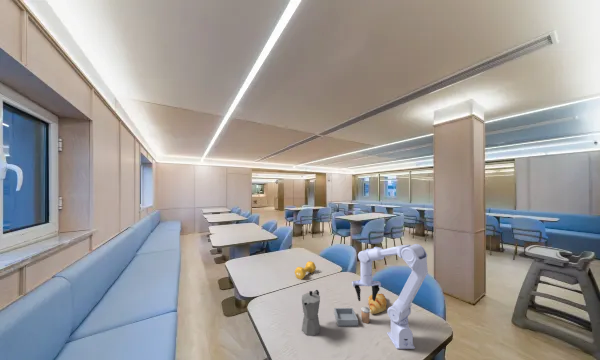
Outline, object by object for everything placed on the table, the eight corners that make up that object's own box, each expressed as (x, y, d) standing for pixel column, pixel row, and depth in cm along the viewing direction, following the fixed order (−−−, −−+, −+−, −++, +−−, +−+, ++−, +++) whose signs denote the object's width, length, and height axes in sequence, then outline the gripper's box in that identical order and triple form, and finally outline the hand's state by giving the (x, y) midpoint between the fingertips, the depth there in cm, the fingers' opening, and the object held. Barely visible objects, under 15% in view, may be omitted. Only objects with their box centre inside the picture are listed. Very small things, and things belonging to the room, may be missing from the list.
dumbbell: (303, 281, 149) (303, 269, 149) (293, 277, 154) (293, 266, 154) (316, 272, 164) (316, 262, 164) (307, 269, 169) (307, 259, 170)
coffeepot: (314, 342, 90) (314, 300, 91) (295, 334, 95) (295, 295, 95) (326, 321, 104) (326, 285, 104) (310, 316, 108) (310, 281, 109)
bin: (358, 326, 100) (358, 320, 101) (338, 326, 100) (337, 320, 100) (352, 313, 110) (352, 308, 111) (334, 313, 110) (334, 308, 110)
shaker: (370, 323, 102) (370, 311, 103) (362, 323, 102) (362, 311, 103) (368, 318, 107) (367, 306, 107) (360, 318, 107) (360, 306, 107)
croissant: (377, 324, 107) (384, 313, 105) (360, 309, 113) (367, 298, 110) (386, 304, 124) (393, 295, 122) (371, 292, 130) (377, 283, 128)
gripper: (377, 270, 111) (377, 295, 110) (350, 270, 111) (350, 295, 110) (382, 276, 104) (382, 303, 103) (353, 276, 103) (354, 303, 103)
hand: (366, 300), depth 106 cm, fingers open, 7 cm apart
